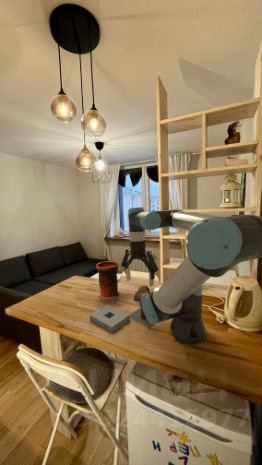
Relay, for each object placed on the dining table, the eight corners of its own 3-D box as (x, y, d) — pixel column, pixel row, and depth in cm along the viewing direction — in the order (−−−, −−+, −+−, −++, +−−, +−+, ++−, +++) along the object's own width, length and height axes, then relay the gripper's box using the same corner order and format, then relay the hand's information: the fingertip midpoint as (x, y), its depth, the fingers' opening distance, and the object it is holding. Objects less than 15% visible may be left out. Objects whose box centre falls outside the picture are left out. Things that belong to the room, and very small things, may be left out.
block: (129, 320, 97) (129, 315, 96) (112, 333, 88) (111, 327, 87) (107, 310, 107) (107, 305, 106) (90, 320, 98) (89, 315, 98)
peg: (147, 316, 98) (147, 294, 97) (144, 319, 96) (143, 296, 94) (143, 314, 100) (142, 292, 99) (139, 317, 98) (138, 295, 96)
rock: (129, 298, 115) (143, 300, 109) (132, 283, 118) (146, 285, 113) (138, 302, 122) (152, 304, 116) (141, 288, 126) (155, 290, 120)
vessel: (94, 291, 130) (93, 262, 127) (114, 287, 136) (114, 259, 133) (100, 301, 117) (99, 269, 114) (122, 296, 123) (122, 265, 120)
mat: (160, 318, 98) (160, 317, 98) (149, 328, 90) (149, 327, 90) (138, 309, 107) (138, 308, 107) (126, 317, 99) (126, 316, 99)
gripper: (164, 240, 88) (166, 285, 91) (122, 237, 103) (124, 276, 106) (156, 243, 82) (158, 291, 85) (112, 239, 97) (115, 280, 100)
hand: (139, 282), depth 96 cm, fingers open, 13 cm apart
